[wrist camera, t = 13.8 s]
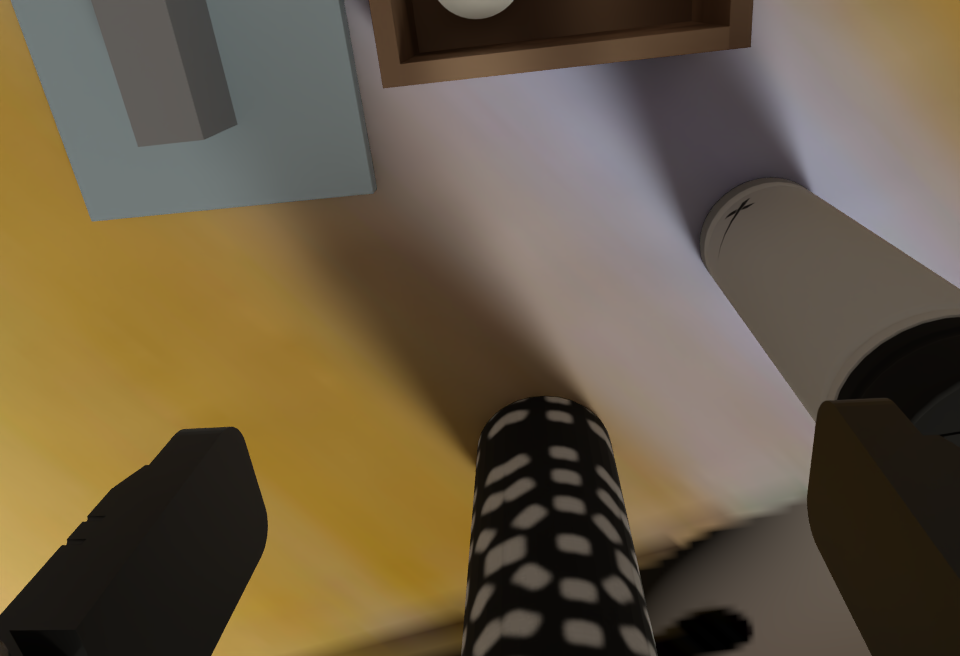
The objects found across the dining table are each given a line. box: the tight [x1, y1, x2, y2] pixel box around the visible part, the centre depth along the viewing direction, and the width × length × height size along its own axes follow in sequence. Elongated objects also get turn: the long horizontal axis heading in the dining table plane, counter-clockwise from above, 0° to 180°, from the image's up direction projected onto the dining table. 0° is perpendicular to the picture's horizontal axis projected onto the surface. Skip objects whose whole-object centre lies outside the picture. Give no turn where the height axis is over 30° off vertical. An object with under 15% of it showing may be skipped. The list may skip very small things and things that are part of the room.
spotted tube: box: [461, 396, 658, 656], centre depth 33 cm, size 8×8×20 cm
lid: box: [11, 0, 377, 221], centre depth 31 cm, size 15×15×6 cm
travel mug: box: [700, 177, 960, 447], centre depth 27 cm, size 6×7×20 cm
